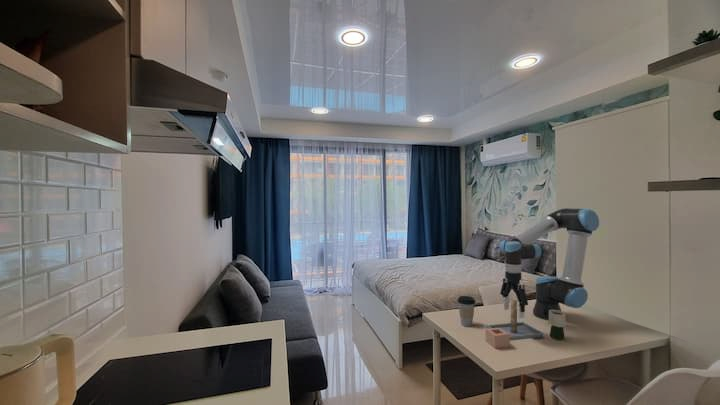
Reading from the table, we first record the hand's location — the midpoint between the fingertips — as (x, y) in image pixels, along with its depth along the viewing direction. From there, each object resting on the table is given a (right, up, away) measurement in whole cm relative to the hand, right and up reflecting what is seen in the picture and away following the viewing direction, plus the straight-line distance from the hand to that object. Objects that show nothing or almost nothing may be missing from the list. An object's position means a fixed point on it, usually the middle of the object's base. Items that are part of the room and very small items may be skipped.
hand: (513, 313), depth 160 cm
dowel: (0, -10, 0) cm, 10 cm away
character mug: (+19, -11, -5) cm, 23 cm away
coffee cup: (-20, -11, +13) cm, 26 cm away
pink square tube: (-14, -11, -12) cm, 22 cm away
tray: (0, -11, 0) cm, 11 cm away
